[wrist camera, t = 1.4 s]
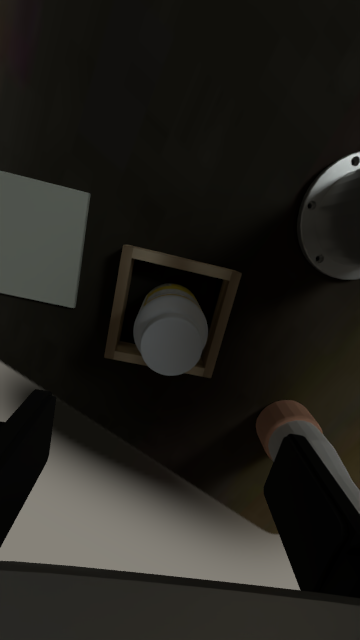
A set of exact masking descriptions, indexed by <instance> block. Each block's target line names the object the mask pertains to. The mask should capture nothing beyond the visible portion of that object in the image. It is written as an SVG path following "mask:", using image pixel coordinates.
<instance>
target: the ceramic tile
mask: <svg viewBox="0 0 360 640" xmlns="http://www.w3.org/2000/svg"><path fill="white" fill-rule="evenodd" d="M89 201H90V194H89V193H86V192H82V191H78V190H74V189H70V188H67V187H63V186H59V185H55V184H51V183H47V182H43V181H39V180H35V179H31V178H27V177H23V176H19V175H15V174H11V173H7V172H3V171H0V293H4V294H8V295H13V296H18V297H23V298H27V299H32V300H37V301H42V302H47V303H51V304H56V305H61V306H66V307H70V308H75V307H76V300H77V293H78V285H79V277H80V270H81V262H82V254H83V247H84V239H85V232H86V224H87V216H88V209H89Z"/></svg>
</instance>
